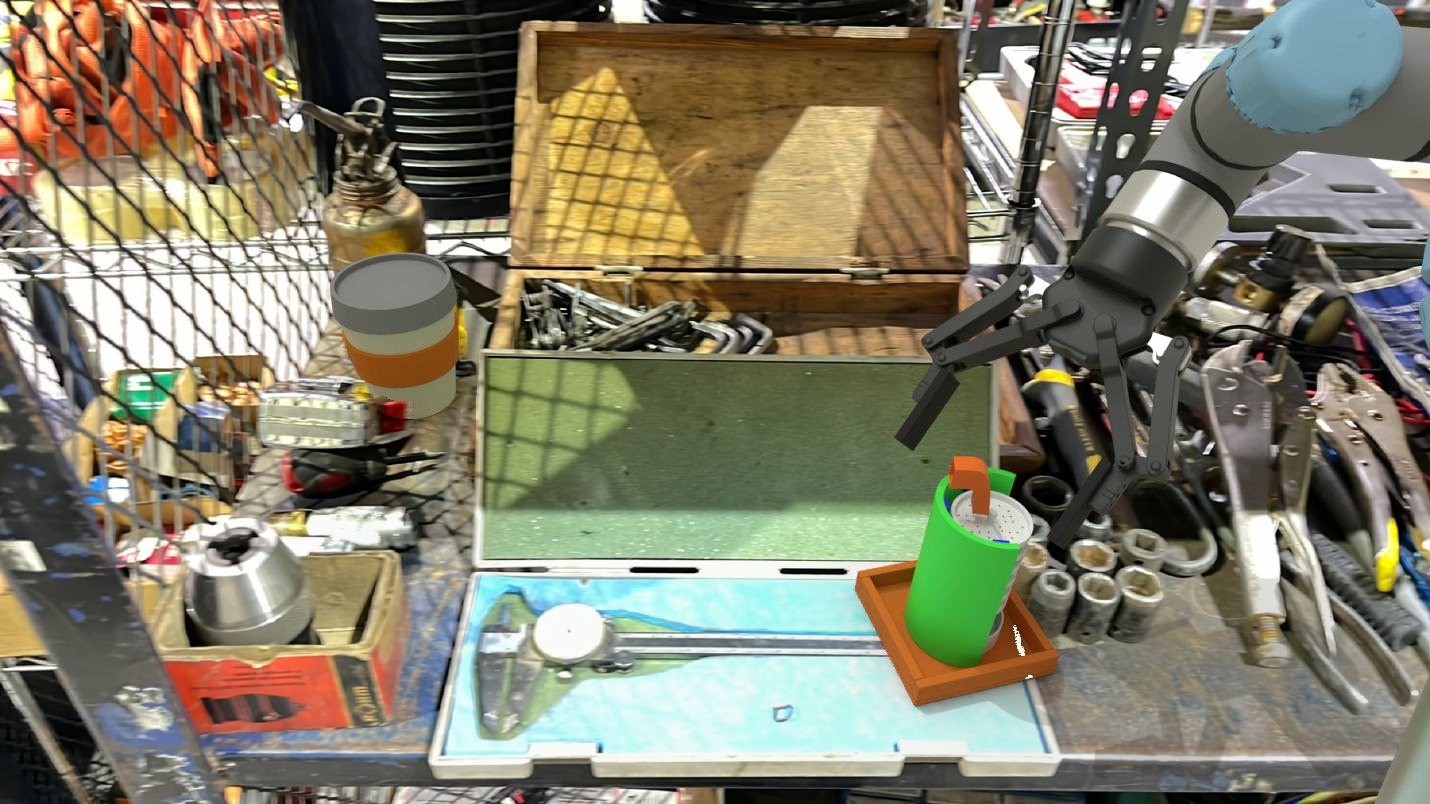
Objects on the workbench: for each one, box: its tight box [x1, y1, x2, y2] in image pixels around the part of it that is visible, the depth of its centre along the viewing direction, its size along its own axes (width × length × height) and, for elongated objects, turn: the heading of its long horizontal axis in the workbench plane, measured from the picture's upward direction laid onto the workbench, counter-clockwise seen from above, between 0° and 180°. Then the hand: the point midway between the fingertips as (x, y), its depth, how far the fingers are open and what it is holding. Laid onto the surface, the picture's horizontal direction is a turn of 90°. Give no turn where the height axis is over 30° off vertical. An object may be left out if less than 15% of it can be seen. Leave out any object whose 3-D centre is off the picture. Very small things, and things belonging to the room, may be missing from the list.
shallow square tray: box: [854, 559, 1061, 707], centre depth 78 cm, size 13×13×2 cm
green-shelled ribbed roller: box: [904, 455, 1034, 668], centre depth 73 cm, size 9×8×18 cm
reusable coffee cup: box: [329, 251, 460, 421], centre depth 99 cm, size 13×13×15 cm
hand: (974, 491), depth 67 cm, fingers open, 13 cm apart
